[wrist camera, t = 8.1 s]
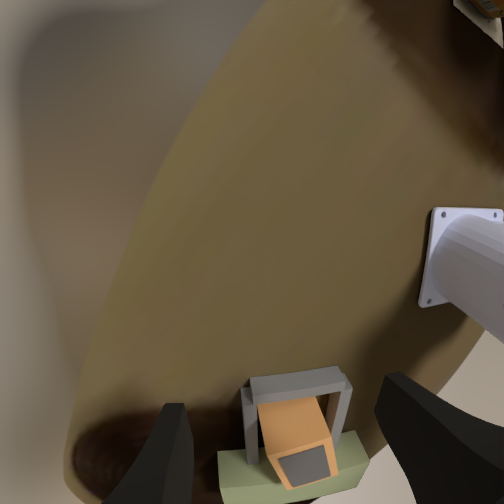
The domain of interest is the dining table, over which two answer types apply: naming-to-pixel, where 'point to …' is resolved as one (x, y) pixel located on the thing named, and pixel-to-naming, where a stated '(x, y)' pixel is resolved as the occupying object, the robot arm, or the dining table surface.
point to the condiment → (484, 15)
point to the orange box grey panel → (297, 441)
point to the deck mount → (255, 459)
